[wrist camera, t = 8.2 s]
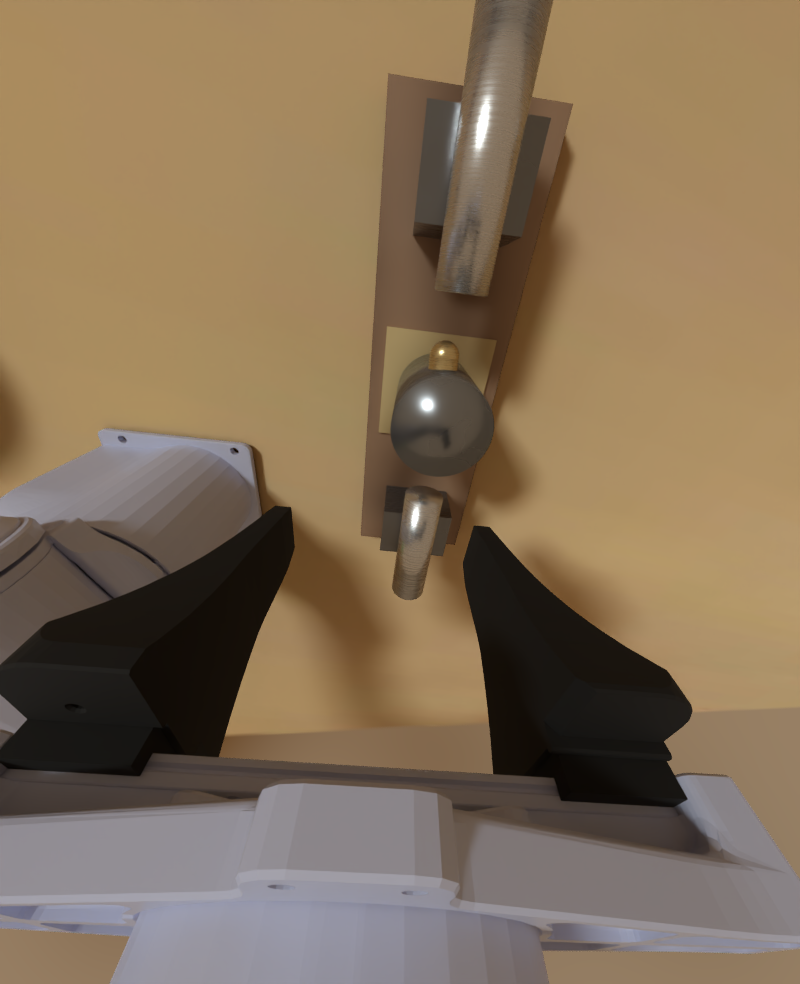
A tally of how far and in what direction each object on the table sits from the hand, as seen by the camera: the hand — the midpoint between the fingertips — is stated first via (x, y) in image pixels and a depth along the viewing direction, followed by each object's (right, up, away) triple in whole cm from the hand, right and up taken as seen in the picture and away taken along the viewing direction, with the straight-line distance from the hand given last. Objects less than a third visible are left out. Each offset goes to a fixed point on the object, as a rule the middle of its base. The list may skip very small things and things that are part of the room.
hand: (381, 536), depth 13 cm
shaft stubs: (+3, +8, +5) cm, 9 cm away
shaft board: (+3, +8, +6) cm, 10 cm away
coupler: (+3, +7, +5) cm, 9 cm away
